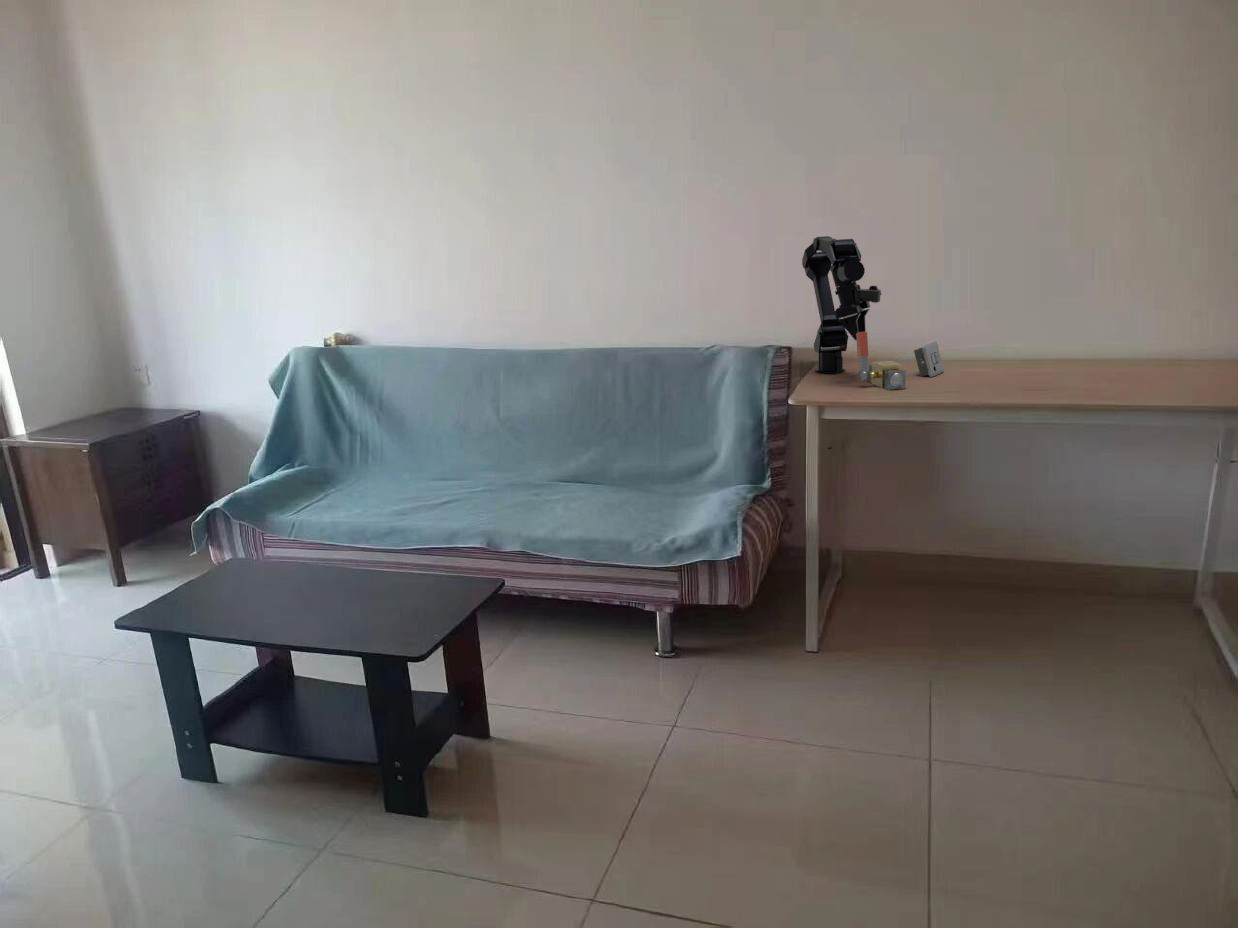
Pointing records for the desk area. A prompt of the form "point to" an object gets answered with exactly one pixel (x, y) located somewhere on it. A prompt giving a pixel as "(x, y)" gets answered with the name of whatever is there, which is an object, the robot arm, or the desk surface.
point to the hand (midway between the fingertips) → (860, 338)
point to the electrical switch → (929, 359)
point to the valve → (887, 375)
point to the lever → (862, 356)
